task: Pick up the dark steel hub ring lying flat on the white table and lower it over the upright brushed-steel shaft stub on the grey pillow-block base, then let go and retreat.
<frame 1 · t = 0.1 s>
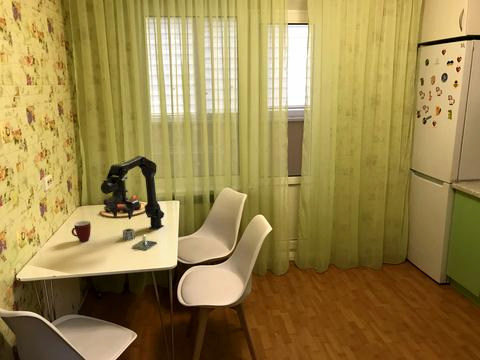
hand: (122, 218, 204), 14 cm above the table, fingers open, 9 cm apart
hub ring: (129, 238, 216), on the table
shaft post: (144, 245, 205), on the table
wooden plate with food: (125, 211, 267), on the table
mug: (82, 241, 214), on the table
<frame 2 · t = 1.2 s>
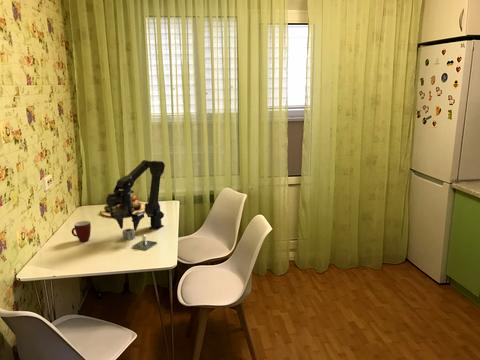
hand: (128, 229, 215), 5 cm above the table, fingers open, 9 cm apart
nothing on the table moved.
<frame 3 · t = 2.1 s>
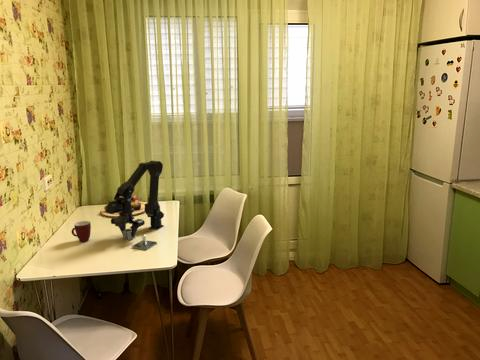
hand: (128, 236, 216), 1 cm above the table, fingers closed on hub ring, 6 cm apart
hub ring: (129, 238, 216), on the table, touching gripper
everything else where it was.
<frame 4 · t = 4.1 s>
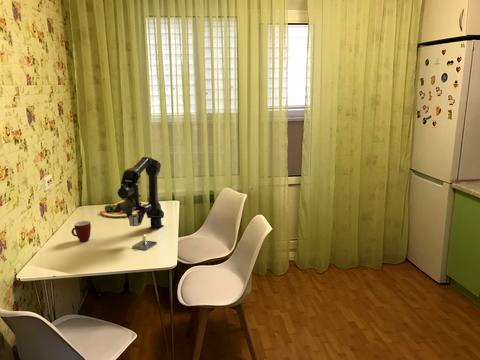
hand: (135, 222, 207), 11 cm above the table, fingers closed on hub ring, 6 cm apart
hub ring: (135, 224, 207), point 10 cm above the table, touching gripper
everything else where it was.
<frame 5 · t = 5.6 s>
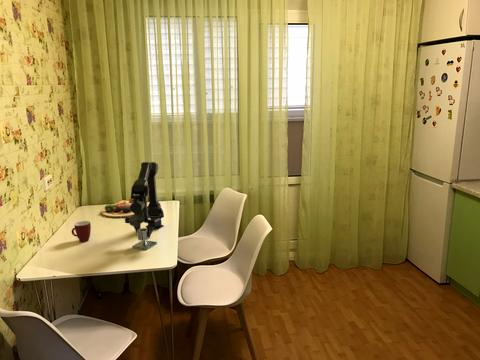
hand: (144, 236, 204), 5 cm above the table, fingers closed on hub ring, 6 cm apart
hub ring: (144, 238, 204), point 4 cm above the table, touching gripper
everything else where it was.
when the fingers open (3 cm above the table, at t = 6.4 s): hub ring drops 1 cm, resting on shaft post.
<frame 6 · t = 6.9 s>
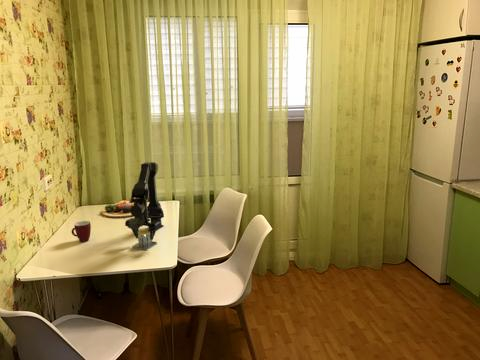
hand: (144, 239, 204), 3 cm above the table, fingers open, 9 cm apart
hub ring: (144, 244, 205), point 1 cm above the table, touching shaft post
everything else where it was.
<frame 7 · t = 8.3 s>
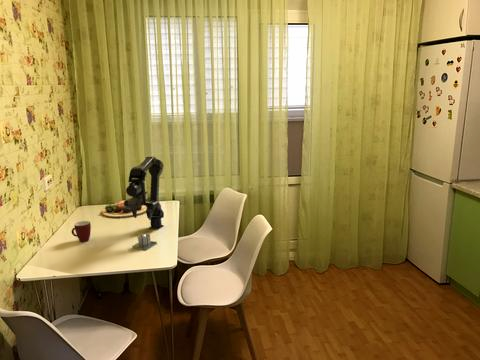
hand: (142, 218, 212), 12 cm above the table, fingers open, 9 cm apart
nothing on the table moved.
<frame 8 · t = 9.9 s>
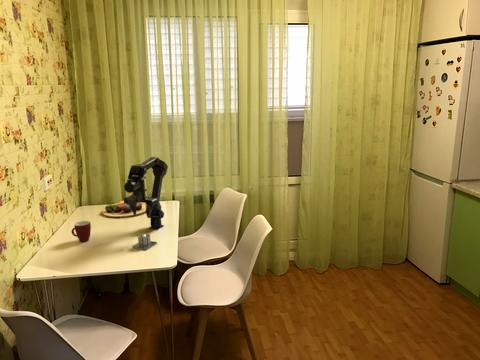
hand: (141, 215, 216), 12 cm above the table, fingers open, 9 cm apart
at the end: hub ring 0.0 cm off-centre on the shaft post, point 1.0 cm above the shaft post's base; the gripper is holding nothing; hub ring tilted 0° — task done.
